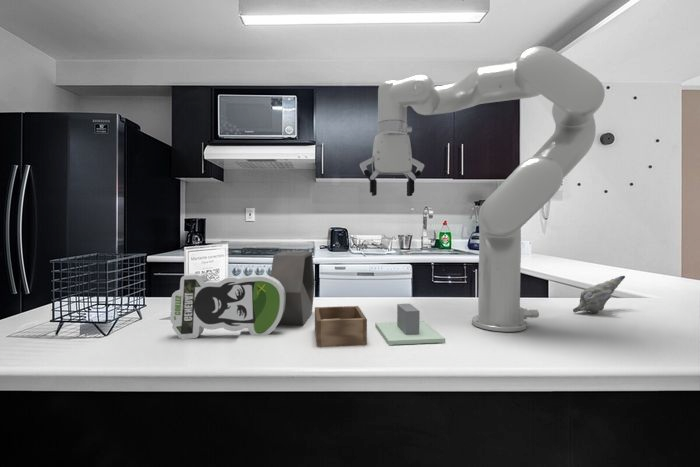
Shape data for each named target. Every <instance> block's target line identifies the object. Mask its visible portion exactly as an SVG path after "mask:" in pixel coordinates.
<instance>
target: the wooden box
mask: <svg viewBox="0 0 700 467" xmlns="http://www.w3.org/2000/svg"><path fill="white" fill-rule="evenodd" d="M324 319H327V320H324ZM314 333H315V343H316V348H326V347H327V348H329V347H331V348H332V347H334V348H335V347H351V346H353V347H354V346H355V347H357V346H367V345H368V338H367V337H368V318H366V316H365V314H364V312H363V311H362V310H361V307H360V306H359V305H348V306H347V305H346V306H342V305H341V306H315V307H314Z"/></svg>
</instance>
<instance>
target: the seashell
mask: <svg viewBox="0 0 700 467" xmlns="http://www.w3.org/2000/svg"><path fill="white" fill-rule="evenodd" d="M625 278H626V276H625V275H621V276H617V277H615V278H611V279H609V280H606V281H604V282H602V283H598V284H596V285H595V286H592V287H588V288H585V289H584V290H582V292H581V293H580V297H579V304H578V306H577V307H574V308H573V309H572V312H573V313H577V312H584V311H585V312H588V313H591V314H597V313H599V312H602V311H603V310H604V309H605V306H606V304H607V302H608V300H610V299H611V298H612V297H611V295H612V294H614V291H615V289H617V288H618V286H619V285H620V284H621V283H622V282H624V280H625Z"/></svg>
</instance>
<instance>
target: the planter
mask: <svg viewBox="0 0 700 467" xmlns="http://www.w3.org/2000/svg"><path fill="white" fill-rule="evenodd" d="M313 259H314V257H313V251H282V252H279V253H275V254H273V257H272V264H271V268H270V269H271V270H270V275H269V276H270V277H273V278H275V279H277V280H278V281H279V282H280V283H281V284H282V285H283V287H284V290H285V295H286V303H285V310H284V313H283V316H282V318H281V320H280V322H279V323H278V325H277V326H305V325H306V324H307V321H308V320H309V319H310V318H311V316H312V314H313V307H314V306H313V305H314V297H315V296H314V294H315V285H316V284H315V283H316V282H315V272H314V269H315V268H314V260H313Z"/></svg>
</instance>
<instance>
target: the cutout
mask: <svg viewBox="0 0 700 467" xmlns="http://www.w3.org/2000/svg"><path fill="white" fill-rule="evenodd" d="M170 299H171V300H170V301H171V303H170V304H171V305H170V316H169V321H170V323H171V324H172V329H173V331H174V332H175V334H176V335H177V337H178V338H179V339H181V340H183V339H184V340H185V339H186V340H187V339H189V340H190V339H197V338H198V337H199V336H201V335H202V334H203V333H204V330H205V329H206V330H210V331H211V330H212V331H213V330H218V329H224V330H226V331H230V332H237V331H243V330H245V329H248V333H249V334H250V335H251V336H252V335H253V336H268V335H270V334H271V333H272V332H273V331H274V330H275V329H276V328H277V326H279V325H278V323H279V322H280V320H281V318H282V316H283V313H284V310H285V303H286V295H285V290H284V287H283V285H282V284H281V283H280V282H279V281H278V280H277V279H275V278H273V277H270V275H266V274H256V275H245V276H238V275H233V276H228V277H226V278H223V279H222V280H220V279H219V280H216V279H214V280H213V279H212V280H209V278H208V277H207V276H206V274H204V273H201V272H200V273H187V274H185V275H182V276H181V277H180V282H179V289H178V290H175V291H174V292H173V293H172V295H171V298H170Z"/></svg>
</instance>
